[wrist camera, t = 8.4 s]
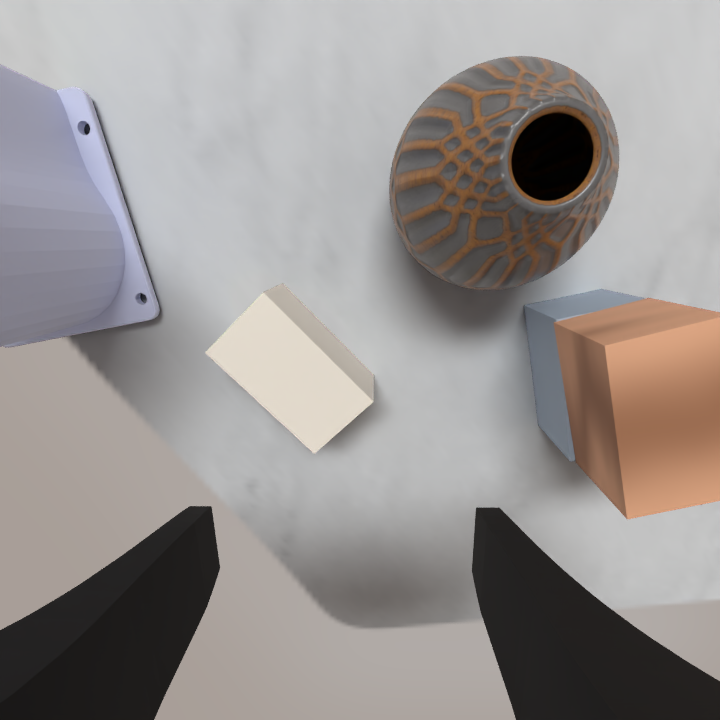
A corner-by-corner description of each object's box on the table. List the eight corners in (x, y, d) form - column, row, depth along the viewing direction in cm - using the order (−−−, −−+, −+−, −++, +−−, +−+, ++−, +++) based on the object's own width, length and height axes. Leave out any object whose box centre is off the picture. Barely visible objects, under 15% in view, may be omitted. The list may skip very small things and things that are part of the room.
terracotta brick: (662, 443, 17) (738, 496, 13) (576, 462, 17) (627, 519, 13) (648, 297, 15) (730, 314, 12) (553, 322, 15) (604, 345, 12)
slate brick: (522, 304, 19) (556, 319, 15) (600, 288, 18) (652, 299, 15) (537, 424, 20) (570, 461, 17) (608, 411, 20) (657, 446, 17)
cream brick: (234, 333, 20) (204, 352, 16) (283, 282, 19) (263, 292, 15) (324, 418, 21) (314, 453, 17) (373, 373, 20) (373, 401, 17)
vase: (548, 274, 18) (695, 303, 10) (391, 285, 19) (403, 321, 10) (556, 96, 16) (749, -56, 8) (382, 113, 17) (388, -17, 8)
